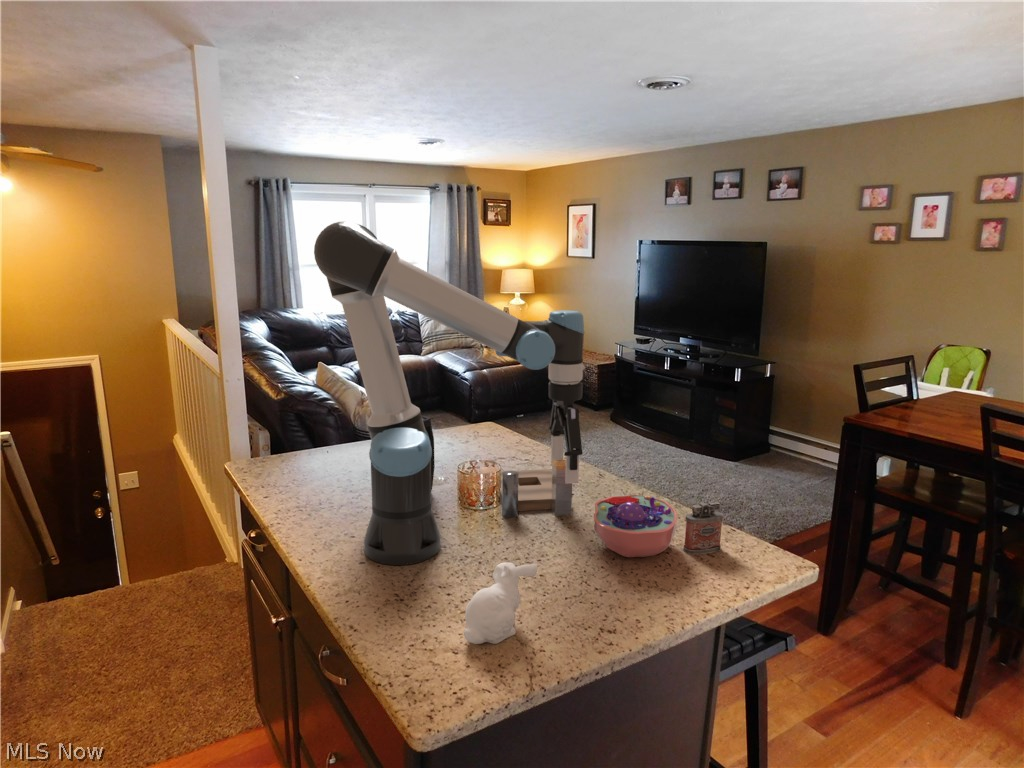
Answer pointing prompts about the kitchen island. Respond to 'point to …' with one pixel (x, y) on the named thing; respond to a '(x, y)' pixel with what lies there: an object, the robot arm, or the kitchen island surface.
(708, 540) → the lighter
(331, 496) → the kitchen island surface
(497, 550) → the kitchen island surface
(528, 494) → the socket plate
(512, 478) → the round bit
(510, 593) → the rabbit
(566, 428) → the robot arm
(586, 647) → the kitchen island surface
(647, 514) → the cell model
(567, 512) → the square bit
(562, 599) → the kitchen island surface
